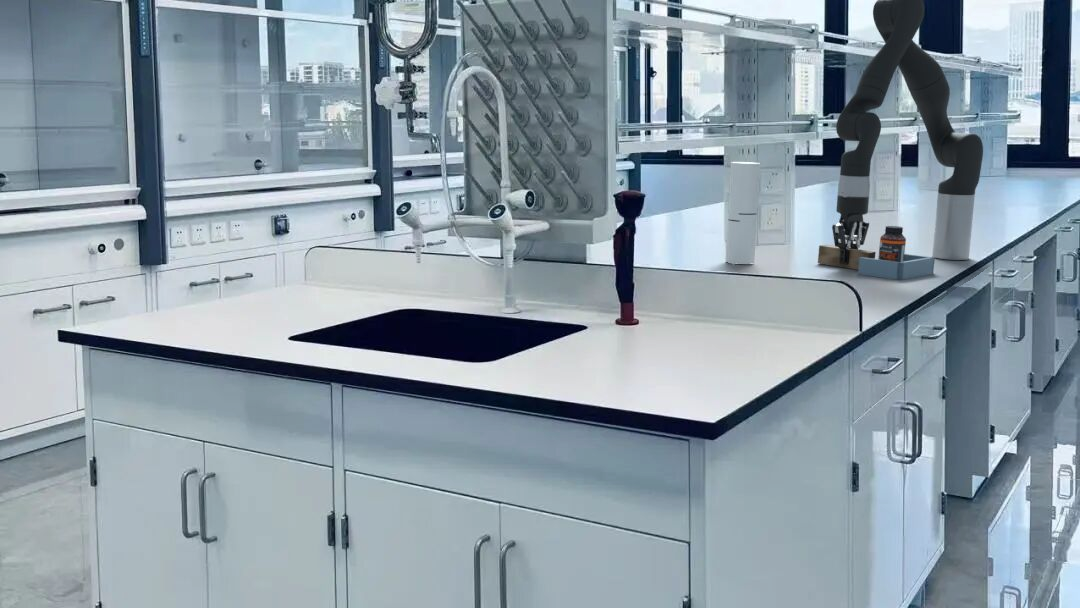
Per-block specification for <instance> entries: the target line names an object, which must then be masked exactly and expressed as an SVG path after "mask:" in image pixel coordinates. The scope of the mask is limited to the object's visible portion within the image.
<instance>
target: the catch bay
mask: <svg viewBox="0 0 1080 608" xmlns="http://www.w3.org/2000/svg"><path fill="white" fill-rule="evenodd" d="M935 259H936V258H935V257H932V256H926V255H918V254H912V253H911V254H910V253H904V262H895V261H887V260H880V259H878V258H875V259H872V258H865V257H859V268H858V269H857V270H858V271H857V275H862V276H863V275H864V276H870V277H875V278H876V277H877V278H884V279H890V280H897V281H903V280H908V279H914V278H919V277H924V276H929V275H934V273H935V271H934V270H935Z"/></svg>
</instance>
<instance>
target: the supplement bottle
mask: <svg viewBox="0 0 1080 608" xmlns="http://www.w3.org/2000/svg"><path fill="white" fill-rule="evenodd" d="M903 230H904V227H903V226H897V225H886V226H885V229H884V233H883V234H882V235H880V238H879V247H878V248H879V249H878V258H877V259H880V260H887V261H895V262H904V254H906V253H905V252H906V251H905V250H906V241H907V239H906V237H905V236H904V234H903V232H904V231H903Z"/></svg>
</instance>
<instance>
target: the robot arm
mask: <svg viewBox="0 0 1080 608" xmlns="http://www.w3.org/2000/svg"><path fill="white" fill-rule="evenodd" d="M924 16H925V4H924V1H923V0H876V2H874V4H873V10H872V17H873V21H874V24H875V27H876V29H877V31H878V32H879V33H878V34H880V36H881V38H882V40H883V41H884V44H883V45H882V47H881V48H880V49H879V51H878V52H877V53H876V54H875V55H874V57H873V58H872V59H871V60H870V61H869V62H868V64H867V65H866V67H865V68H864V69H863V71H862V74H861V77H860V79H859V81H858V84H857V88H856V90H855V93H854V95H852V97H851V98H850V100H849V101H848V103H846V105H845V107H844V108H843V110H842V111H841V113H840V114H839V116H838V118H837V120H836V126H835V130H836V134H837V136H838V138H839V139H840V140H843V141H849V142H858V144H857V146H856V148H854V149H853V150H849V151H848V150H847V151H845V152H843V153H842V155H841V159H840V171H839V179H838V184H837V185H838V187H837V196H836V198H837V199H836V209H835V210H836V212H837V213H838V214H840V218H839V220H838V223H837V224H832V227H831V228H832V235H833V236H832V237H833V242H834V243H833V244H834V246H836V247H839V249H840V259H839V263H840V264H844V265H847V264H848V263H849V252H850V250H849V248H852V249H860V248H861V246H863V245H865V241H866V238H867V234H868V231H869V228H870V222H869V221H867V222H866V221H864V217H863V216H864V215H866V214H868V212H869V201H870V189H871V187H870V186H871V185H870V184H871V182H870V176H871V175H870V174H871V164H872V163H871V162H872V158H873V154H874V151H875V148H876V146H877V143H878V140H879V138H880V135H881V131H882V123H881V119H880V117H879V115H877V114H876V113H875V112H871V111H872V110H875V109H878V108H880V107H881V106H882V104H883V102H884V101H885V99H886V98H885V97H886V96H887V93H888V89H889V87H890V84H891V82H892V79H893V76H894V75H895V73H896V69H897V68H899V71H900V72H901V74H902V76H903V80H904V81H905V84H906V86H907V89H908V91H909V93H910V95H911V97H912V99H913V101H914V103H915V105H916V107H917V110H918V112H919V115H920V118H921V120H922V121H923V124H924V127H925V129H926V133H927V136H928V138H929V141H930V144H931V148H932V151H933V153H934V156H935V158H936V160H937V162H938V163H939V164H940V165H942V166H943V167H947V168H953V173H952V175H951V176H950V177H949V178H947V179H946V180H943V181H941V182H939V183H938V188H937V189H938V190H937V199H936V212H935V222H934V233H933V244H932V245H933V246H932V256H931V257H935V259H940V260H941V259H942V260H948V261H949V260H952V261H964V260H965V261H966V260H969V259H970V251H971V239H972V229H973V217H974V210H975V209H974V207H975V197H976V188H977V187H978V184H979V182H980V178H981V177H980V176H981V171H982V164H983V158H984V156H983V155H984V145H983V141H982V139H981V137H980V136H979V135H978V134H976V133H973V132H972V133H971V132H958V131H956V130H954V128H953V126H952V125H951V122H950V120H949V117H948V112H947V111H948V105H949V101H950V94H951V93H950V91H951V88H950V85H949V82H948V80H947V77H946V75H945V73H944V71H943V68H942V66H941V65H940V63H939V62H937V60H936V59H935V58H933V57H932V55H930V54H929V53H928V52H926V51H925V50H924V49H923V48H922V47H920V46H919V45H918V44H917V42H915V41H914V40H913V39H914V37H915V36H916V34H917V32H918V31H919V29H920V26H921V24H922V22H923V19H924ZM868 111H869V112H868Z"/></svg>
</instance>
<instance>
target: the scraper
mask: <svg viewBox="0 0 1080 608" xmlns="http://www.w3.org/2000/svg"><path fill="white" fill-rule="evenodd" d="M849 250H850V252H849V263H848V264H847V265H844V264H840V263H839V259H840V249H839V247H836V246H835V245H831V244H822V245H819V246H818V254H817V255H818V257H817V264H820V265H821V264H822V265H827V266H833V267H840V268H845V269H852V270H858V268H859V257H865V258H872V259H876V251H871V250H864V249H860V248H858V249H852V248H851V247H850V248H849Z"/></svg>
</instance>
